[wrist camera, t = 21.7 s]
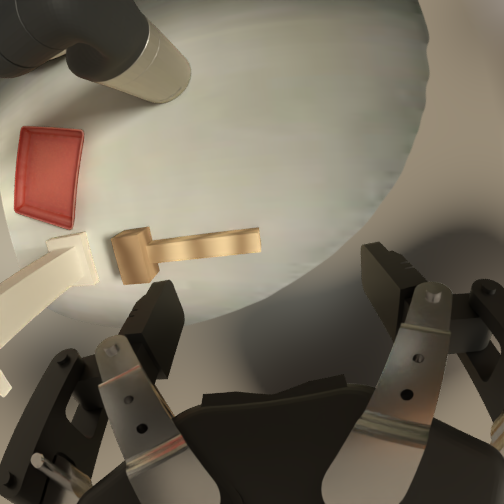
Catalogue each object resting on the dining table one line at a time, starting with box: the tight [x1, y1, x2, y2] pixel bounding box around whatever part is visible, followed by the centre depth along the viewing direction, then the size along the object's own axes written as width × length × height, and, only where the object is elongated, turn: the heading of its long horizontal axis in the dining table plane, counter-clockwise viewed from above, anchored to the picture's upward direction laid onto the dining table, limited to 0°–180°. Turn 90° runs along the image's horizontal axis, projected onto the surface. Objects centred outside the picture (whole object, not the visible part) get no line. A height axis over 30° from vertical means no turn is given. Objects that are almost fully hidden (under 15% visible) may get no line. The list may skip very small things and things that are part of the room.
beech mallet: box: [111, 227, 261, 285], centre depth 43 cm, size 23×8×5 cm, turn 97°
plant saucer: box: [14, 126, 84, 230], centre depth 41 cm, size 18×18×3 cm
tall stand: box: [0, 232, 99, 397], centre depth 33 cm, size 14×12×32 cm
